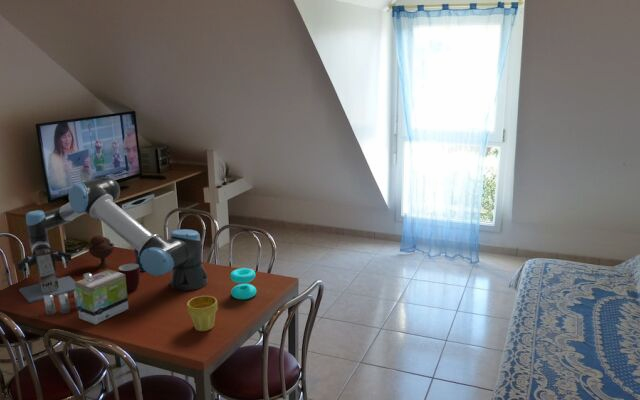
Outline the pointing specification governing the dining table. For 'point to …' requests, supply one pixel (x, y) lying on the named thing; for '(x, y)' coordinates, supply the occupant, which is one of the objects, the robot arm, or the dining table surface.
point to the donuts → (243, 289)
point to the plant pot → (202, 312)
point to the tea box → (101, 296)
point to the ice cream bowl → (101, 249)
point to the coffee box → (47, 270)
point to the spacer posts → (61, 300)
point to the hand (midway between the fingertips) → (46, 268)
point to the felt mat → (35, 292)
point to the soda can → (138, 260)
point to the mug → (131, 275)
